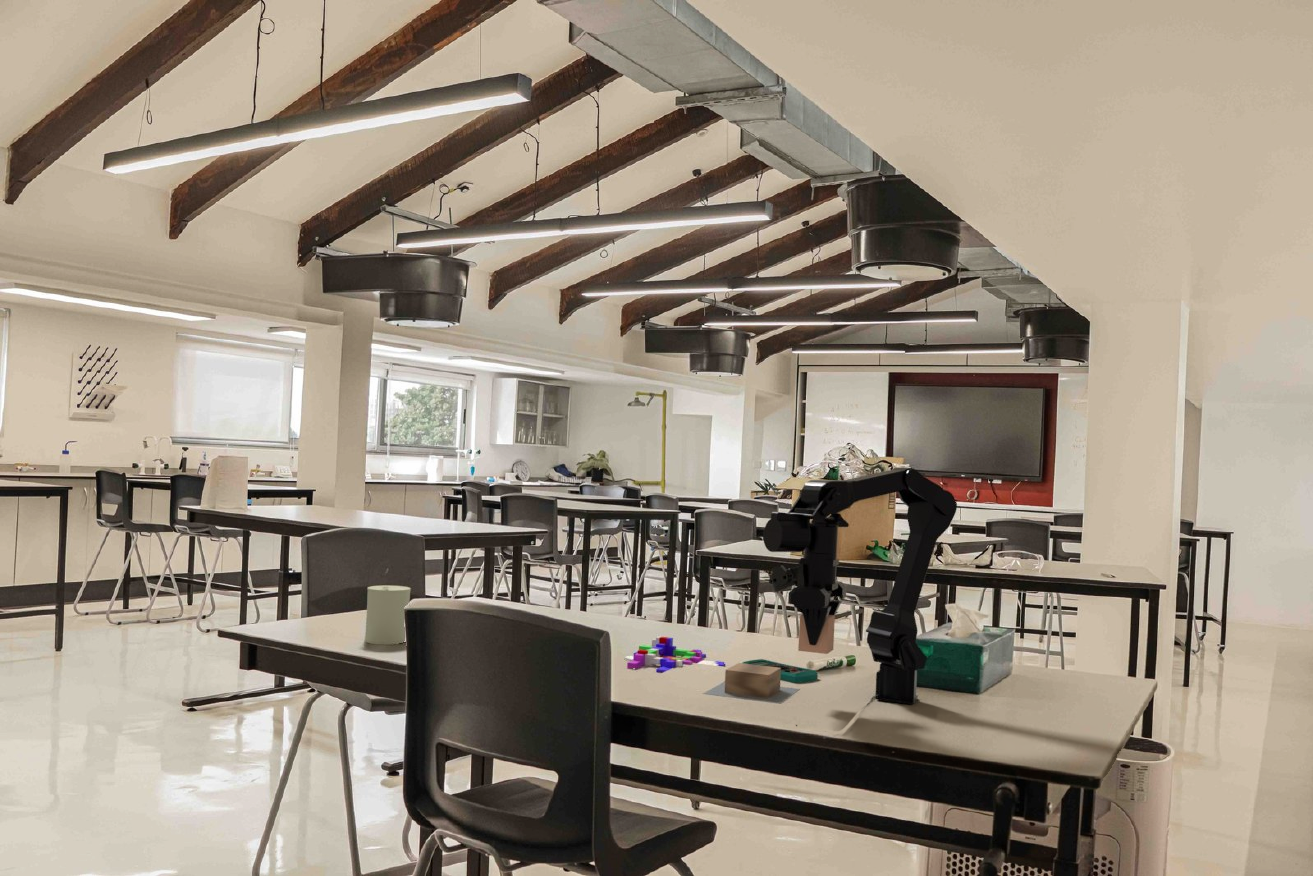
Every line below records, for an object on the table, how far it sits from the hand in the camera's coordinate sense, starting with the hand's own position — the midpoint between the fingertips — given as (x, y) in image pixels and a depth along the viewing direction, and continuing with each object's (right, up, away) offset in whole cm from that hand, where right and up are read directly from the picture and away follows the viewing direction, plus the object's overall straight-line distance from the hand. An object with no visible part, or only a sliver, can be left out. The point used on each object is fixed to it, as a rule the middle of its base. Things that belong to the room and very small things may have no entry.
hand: (816, 643), depth 179 cm
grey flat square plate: (-10, -11, +7) cm, 16 cm away
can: (-86, -9, +45) cm, 97 cm away
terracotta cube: (0, -1, 0) cm, 1 cm away
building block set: (-24, -12, +36) cm, 45 cm away
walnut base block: (-10, -10, +7) cm, 16 cm away
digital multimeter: (-4, -12, +24) cm, 27 cm away
